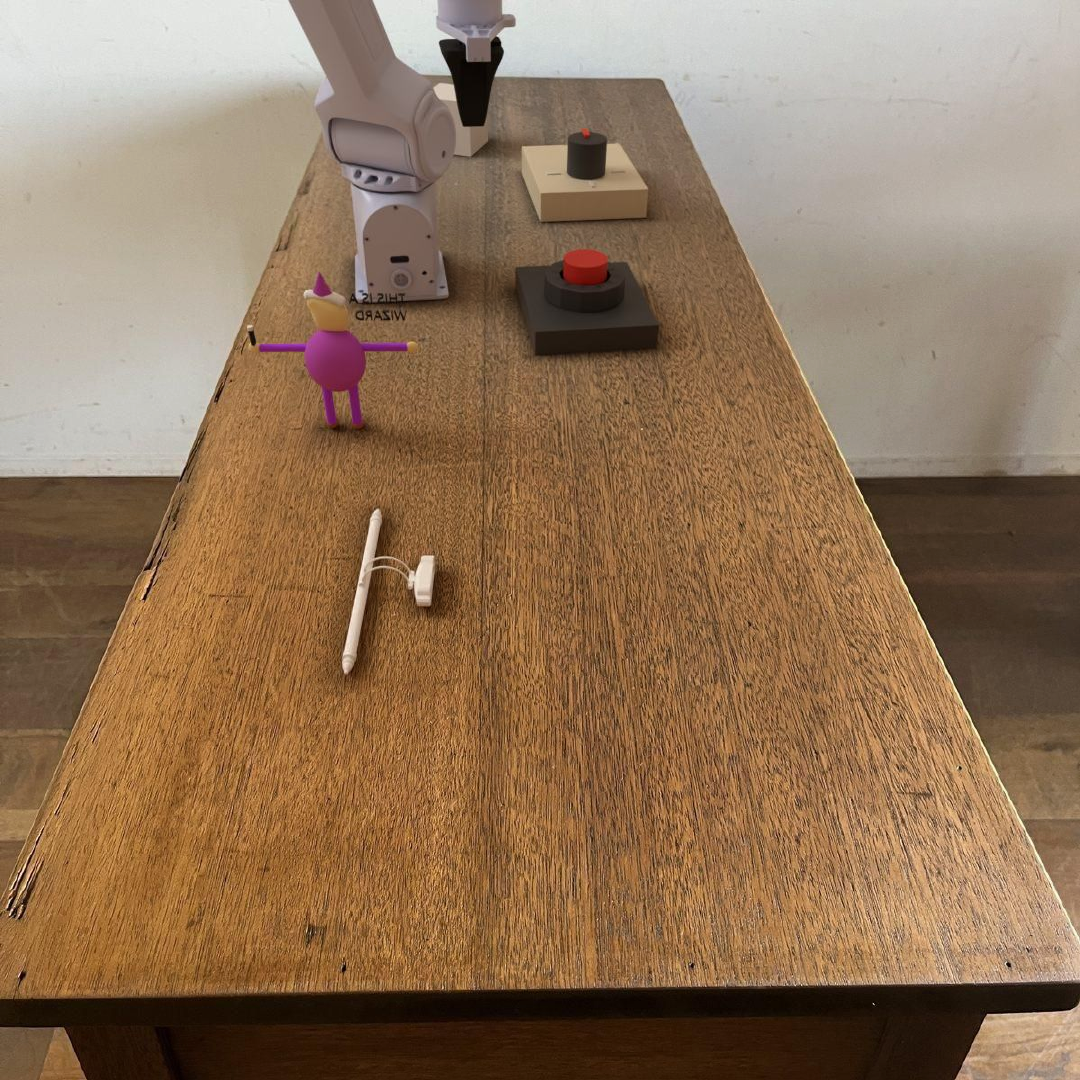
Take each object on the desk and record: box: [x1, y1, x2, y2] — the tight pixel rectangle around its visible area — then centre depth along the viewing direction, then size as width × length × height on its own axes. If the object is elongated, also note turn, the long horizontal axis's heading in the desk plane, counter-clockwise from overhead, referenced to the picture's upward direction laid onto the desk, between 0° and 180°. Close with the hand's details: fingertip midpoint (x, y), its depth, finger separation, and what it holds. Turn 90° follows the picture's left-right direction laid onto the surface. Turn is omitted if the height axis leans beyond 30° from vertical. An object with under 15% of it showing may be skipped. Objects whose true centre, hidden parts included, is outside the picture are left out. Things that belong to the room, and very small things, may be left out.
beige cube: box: [433, 82, 489, 158], centre depth 115 cm, size 6×6×6 cm
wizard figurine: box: [246, 271, 419, 430], centre depth 66 cm, size 11×3×12 cm, turn 92°
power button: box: [563, 248, 609, 286], centre depth 81 cm, size 4×4×2 cm
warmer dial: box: [567, 128, 608, 179], centre depth 101 cm, size 4×4×4 cm
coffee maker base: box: [514, 259, 660, 356], centre depth 82 cm, size 12×10×4 cm
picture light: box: [341, 508, 436, 675], centre depth 56 cm, size 14×4×2 cm, turn 0°
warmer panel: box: [521, 142, 649, 223], centre depth 104 cm, size 14×11×3 cm
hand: (472, 124), depth 93 cm, fingers closed
